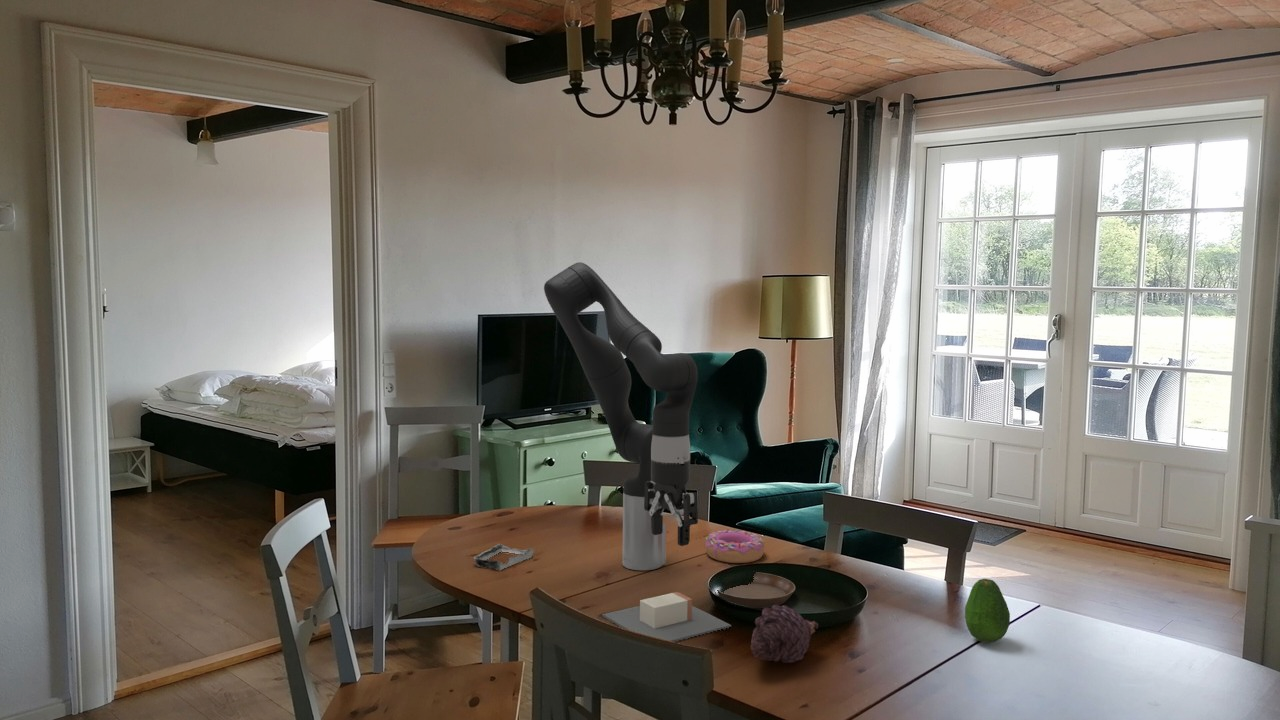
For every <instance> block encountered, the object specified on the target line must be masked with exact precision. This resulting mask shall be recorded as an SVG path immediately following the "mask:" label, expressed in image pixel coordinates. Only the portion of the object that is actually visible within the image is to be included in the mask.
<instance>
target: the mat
mask: <svg viewBox="0 0 1280 720" xmlns="http://www.w3.org/2000/svg"><path fill="white" fill-rule="evenodd" d="M602 618H604V619H606V620H607V621H609V622H610V623H612V624H614V623H616V624H615V625H616V626H617V627H619V628H621V627H622V628H625V629H628V630H631V631H635V632H638V633H641V634H645V635H649V636H652V637H656V638H660V639H664V640H668V641H673V642H674V643H677V642H679V641H677V640H681V641H684V640H683V639H685V640H688V638H689V639H691V638H690V637H693V638H695V637H694V636H697V637H699V636H698V635H701V636H703V635H702V634H704V635H706V634H705V633H708V634H711V633H710V632H712V633H714V632H713V631H716V632H718V631H717V630H720V631H722V630H721V629H723V630H726V628H727V629H730V628H729V627H731V628H732V624H729V623H728V622H725V621H724V620H722V619H720V618H718V617H716V616H714V615H712V614H710V613H708V612H706V611H704V610H702V609H700V608H698V607H696V606H694V605H692V619H690V620H686V621H683V622H679V623H675V624H671V625H667V626H663V627H659V628H653V627H651V626H649V625H647V624H646V623H644V622H642V621H640V605H638V606H633V607H628V608H623V609H619V610H616V611H612V612H606V613H603V614H602ZM627 627H628V628H627ZM622 628H621V629H622ZM633 629H634V630H633ZM637 630H638V631H637Z"/></svg>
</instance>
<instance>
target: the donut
mask: <svg viewBox="0 0 1280 720" xmlns="http://www.w3.org/2000/svg"><path fill="white" fill-rule="evenodd" d="M704 538H705V542H704V543H705V544H704V545H705V546H704V548H705V551H706V554H707V555H708V556H709V557H710V558H711V559H713V560H716V561H718V562H719V561H720V562H723V563H729V564H747V563H752V562H756V561H758V560H760V559H761V558H762V556H764V552H765V545H764V540H762V539H763V538H762V536H759V535H757V534H755V533H752V532H748V531H745V530H736V529H730V530H729V529H725V530H719V531H713V532H711V533H709V534H707V536H706V537H704Z"/></svg>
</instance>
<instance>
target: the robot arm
mask: <svg viewBox="0 0 1280 720" xmlns="http://www.w3.org/2000/svg"><path fill="white" fill-rule="evenodd" d="M543 290H544V295H545V297H546V300H547V302H548V304H549V306H550V308H551V310H552V311H553V313H554V315H555V317H556V319H557V320H558V322H559V324H560V325H561V327H562V329H563V331H564V333H565V334H566V336H567V337H568V340H569V342H570V343H571V346H572V348H573V350H574V352H575V354H576V356H577V358H578V359H577V360H579V363H580V365H581V367H582V370H583V372H584V375H585V378H586V379H587V382H588V384H589V386H590V387H591V390H592V392H593V393H594V395H595V397H596V400H597V402H598V404H599V407H600V408H601V411H602V413H603V416H604V418H605V421H606V423H607V426H608V428H609V432H610V434H611V437H612V441H613V444H614V447H615V449H616V451H617V453H618V455H619V457H621V458H622V460H624V461H627V462H630V463H634V464H635V463H636V464H639V468H638V469H639V470H638V474H637V475H635V476H630V477H628V478H626V479H625V480H624V481H623V485H622V487H623V488H622V489H623V491H622V492H623V494H622V566H623V567H624V568H625V569H628V570H629V569H630V570H631V571H632V570H634V571H651V570H656V569H659V568H661V567H662V566H665V565H666V552H667V551H666V543H667V540H666V538H667V532H666V531H667V527H666V524H665V523H664V522H663V521H664V520H663V519H664V517H663V513H664V511H665V509H666V510H667V511H670V513H671V515H672V517H674V518H675V520H676V522H677V524H678V526H677V546H679V547H680V546H681V547H683V546H688V545H689V543H690V540H691V539H690V537H691V536H690V532H691V531H690V530H691V529H690V528H691V526H692V525H697V524H698V523H699V516H698V515H699V511H698V510H699V509H698V494H697V492H687V488H686V486H687V484H688V483H689V481H690V480H691V442H690V441H691V440H690V410H691V407H692V404H693V401H694V400H693V399H694V396H695V392H696V388H697V383H698V378H699V377H698V375H699V372H698V367H697V364H696V362H695V360H694V358H692V356H691V355H689V353H685V352H684V353H683V352H677V353H676V352H675V353H668V354H664V353H662V349H663V345H662V341H661V339H660V338H659V336H657V335H656V333H654V332H652V331H651V330H650V329H649V328H648V327H646V326H645V324H643V323H642V322H641V321H639V319H637V318H636V317H635V316H634V315H633V314H632V313H631V312H630V311H629V310H628V308H627V307H626V306H625V305H624V303H623V302H622V301H621V300H620V299H619V298H618V297H617V295H616V294H615V292H613V290H612V289H611V288H610V287H609V286H608V284H606V282H605V281H604V280H603V279H602V278H601V277H600V275H598V273H597V272H596V271H595V269H593V268H592V267H590V265H588V264H586V263H585V262H581V261H579V262H575V263H573V264H572V265H570V266H568V267H566V268H565V269H564V270H562V271H559V272H558V273H557V274H555V275H553V276H552V277H551V278H549V279H548V280H547V281H545V283H544V286H543ZM596 302H597V303H598V304H599V305H601V306H602V308H603V311H604V315H605V316H604V317H605V323H606V329H607V335H608V337H609V339H610V341H611V342H609V341H607V340H606V339H603V338H602V337H600V336H599V335H596V334H595V333H592V332H591V331H589V330H588V329H587V328H586V327H585V326H584V325H583V324H582V323H581V321H580V319H579V317H578V314H579V313H581V312H582V311H584V310H586V309H587V308H589V307H590V306H592V305H593V304H594V303H596ZM624 357H626V358H627V359H628V360H629V361H631V363H632V364H633V365H634V367H635V369H636V371H637V373H638V374H639V375H640V377H641V378H642V381H643V382H644V383H645V384H646V386H647V387H649V388H650V389H652V390H654V391H656V392H660V393H663V392H664V393H665V392H666V395H665V398H664V399H663V401H661V402H659V403H658V404H656V405H654V406H653V409H652V424H649V423H648V424H646V423H641V422H638V421H636V418H635V417H634V415H633V413H632V411H631V408H630V406H629V397H630V392H631V389H632V375H631V372H630V369H629V367H628V365H627V363H626V360H625V358H624ZM690 514H691V516H690ZM682 516H683V517H682Z"/></svg>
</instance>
